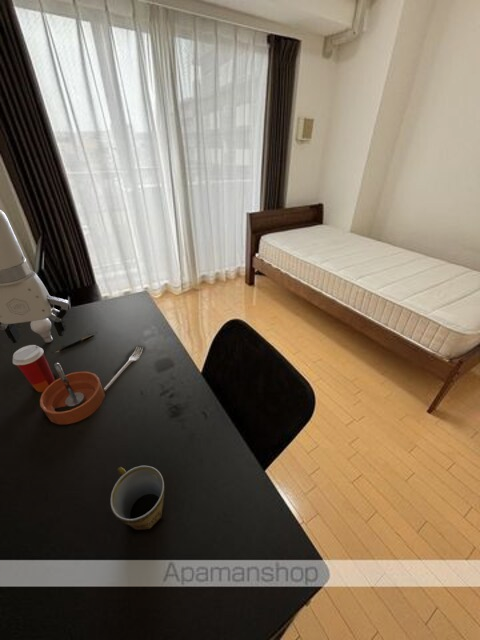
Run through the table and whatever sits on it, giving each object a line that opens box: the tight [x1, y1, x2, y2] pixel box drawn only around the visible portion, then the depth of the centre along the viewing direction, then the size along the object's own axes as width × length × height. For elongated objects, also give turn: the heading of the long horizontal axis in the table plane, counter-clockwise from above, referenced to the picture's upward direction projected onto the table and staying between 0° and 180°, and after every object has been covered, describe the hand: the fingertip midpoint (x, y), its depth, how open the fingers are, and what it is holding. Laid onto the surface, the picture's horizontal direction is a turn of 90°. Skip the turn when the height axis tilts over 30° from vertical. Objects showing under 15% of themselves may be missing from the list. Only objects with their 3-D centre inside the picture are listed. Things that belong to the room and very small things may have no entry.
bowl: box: [39, 371, 106, 425], centre depth 82 cm, size 15×15×6 cm
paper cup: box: [12, 344, 56, 393], centre depth 86 cm, size 8×8×14 cm
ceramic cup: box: [109, 465, 165, 531], centre depth 58 cm, size 13×10×10 cm
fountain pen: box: [55, 334, 95, 353], centre depth 106 cm, size 14×1×2 cm, turn 135°
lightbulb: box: [29, 318, 54, 343], centre depth 104 cm, size 6×6×11 cm
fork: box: [103, 345, 144, 392], centre depth 95 cm, size 3×20×2 cm, turn 163°
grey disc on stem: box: [54, 362, 86, 410], centre depth 79 cm, size 5×5×16 cm
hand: (40, 336), depth 69 cm, fingers open, 9 cm apart
